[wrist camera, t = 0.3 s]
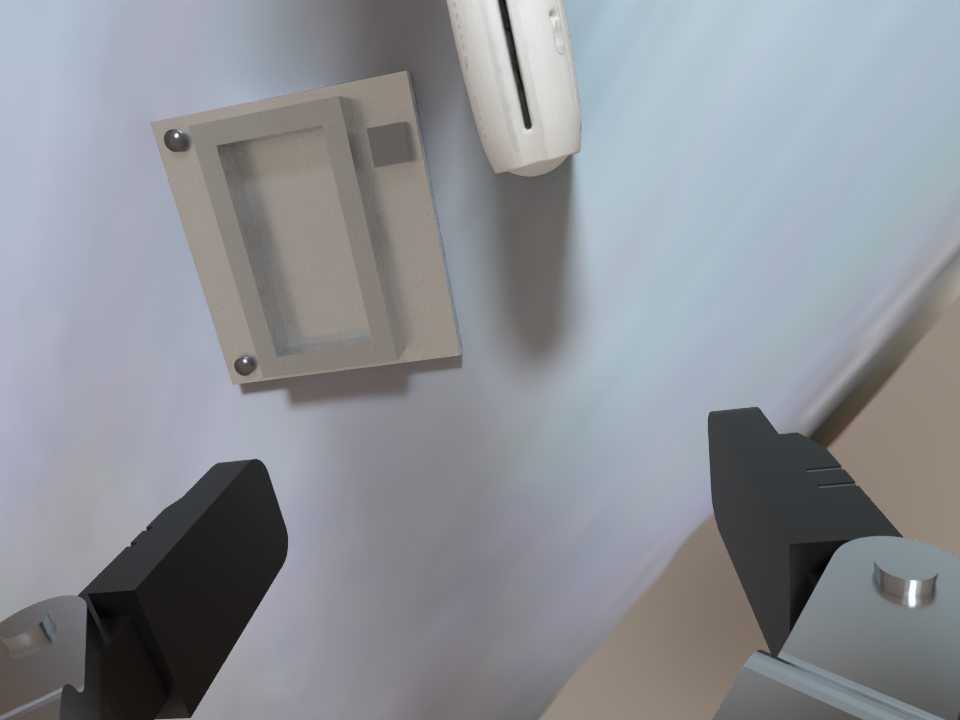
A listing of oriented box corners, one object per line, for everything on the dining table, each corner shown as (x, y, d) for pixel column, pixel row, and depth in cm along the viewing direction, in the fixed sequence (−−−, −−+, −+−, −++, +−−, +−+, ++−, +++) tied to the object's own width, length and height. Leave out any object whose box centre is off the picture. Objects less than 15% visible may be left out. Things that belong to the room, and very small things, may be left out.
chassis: (160, 123, 36) (127, 121, 33) (410, 72, 34) (397, 66, 31) (240, 379, 41) (217, 396, 38) (462, 350, 38) (455, 366, 36)
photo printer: (459, -24, 32) (408, -120, 20) (542, -50, 31) (537, -165, 19) (505, 178, 35) (483, 196, 23) (580, 159, 34) (597, 168, 23)
